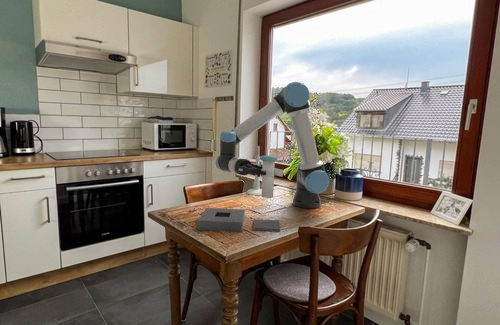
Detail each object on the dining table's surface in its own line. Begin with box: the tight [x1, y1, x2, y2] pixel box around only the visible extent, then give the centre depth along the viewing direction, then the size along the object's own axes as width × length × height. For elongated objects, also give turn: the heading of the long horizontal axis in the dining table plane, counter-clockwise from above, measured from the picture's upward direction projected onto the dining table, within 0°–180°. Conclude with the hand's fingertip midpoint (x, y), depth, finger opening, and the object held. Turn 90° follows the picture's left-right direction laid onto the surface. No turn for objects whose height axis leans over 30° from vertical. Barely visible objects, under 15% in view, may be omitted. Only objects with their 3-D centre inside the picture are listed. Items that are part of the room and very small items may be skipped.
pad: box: [252, 218, 281, 232], centre depth 127 cm, size 11×11×1 cm
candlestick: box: [245, 145, 262, 197], centre depth 184 cm, size 13×13×30 cm
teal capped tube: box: [260, 155, 278, 199], centre depth 124 cm, size 7×7×17 cm
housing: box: [197, 207, 246, 233], centre depth 129 cm, size 18×18×4 cm
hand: (277, 173), depth 120 cm, fingers closed on teal capped tube, 5 cm apart
